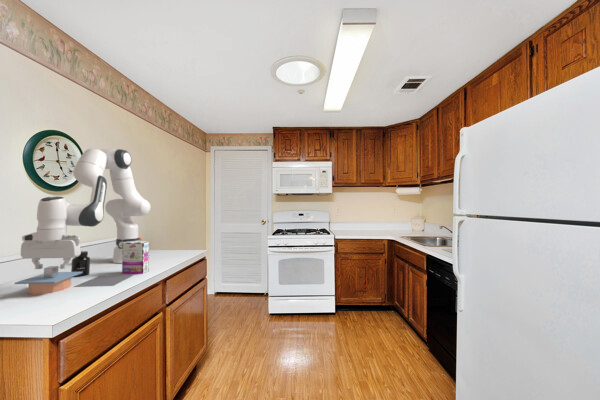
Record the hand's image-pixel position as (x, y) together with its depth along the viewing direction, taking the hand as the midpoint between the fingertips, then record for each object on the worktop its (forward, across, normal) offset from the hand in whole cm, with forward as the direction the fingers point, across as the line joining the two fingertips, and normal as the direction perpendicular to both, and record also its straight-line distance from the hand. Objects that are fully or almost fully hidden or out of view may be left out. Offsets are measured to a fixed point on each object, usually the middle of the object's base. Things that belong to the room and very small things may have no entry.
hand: (51, 268), depth 102 cm
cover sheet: (+4, 0, 0) cm, 4 cm away
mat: (+9, -15, -10) cm, 20 cm away
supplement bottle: (+9, +3, -20) cm, 22 cm away
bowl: (+9, 0, 0) cm, 9 cm away
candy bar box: (+9, -21, -23) cm, 32 cm away
